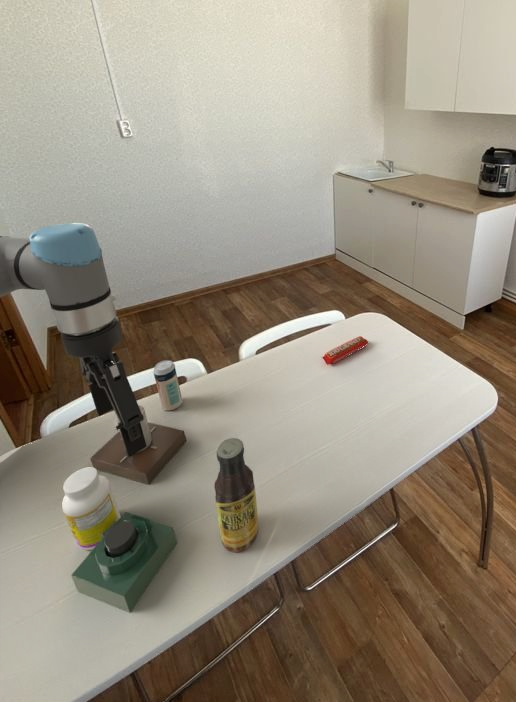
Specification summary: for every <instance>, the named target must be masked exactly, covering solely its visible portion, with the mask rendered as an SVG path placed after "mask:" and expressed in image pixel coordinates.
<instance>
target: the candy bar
mask: <svg viewBox="0 0 516 702" xmlns="http://www.w3.org/2000/svg"><path fill="white" fill-rule="evenodd" d="M368 342H369V340H368V339H366V338H364V337H363V336H361V335H360V336H357V337H355V338H352V339H350V340H348V341H346V342H344V343H342V344H340V345H339V346H336V347H335V348H333V349H331V350H329V351H327V352H326V353H325V354H324V355H323V356H321V358H322V359H323V361H324V362H325V364H326V365H327V366H329V365H330V364H331V365H334V364H336V363H338V362H340V361H342V360H343V359H342V358H344V357H346V356H347V357H349V356H350V355H349V354H351V353H353V352H355V351H357V350H358V349H360V348H362V347H363V346H365V345H366V344H367V343H368ZM367 345H368V344H367ZM367 345H366V346H367ZM366 346H365V347H366ZM362 349H363V348H362ZM360 350H361V349H360ZM357 352H358V351H357ZM355 353H356V352H355ZM353 354H354V353H353ZM348 355H349V356H348ZM351 355H352V354H351ZM347 357H346V358H347ZM341 359H342V360H341ZM344 359H345V358H344ZM339 360H340V361H339ZM337 361H338V362H337ZM335 362H336V363H335ZM333 363H334V364H333Z"/></svg>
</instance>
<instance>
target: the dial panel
mask: <svg viewBox="0 0 516 702" xmlns="http://www.w3.org/2000/svg"><path fill="white" fill-rule="evenodd" d="M148 425H149V429H150V433H151V436H152V442H151V444H150V445H149V446H148V447H147V448H146V449H144V450H143V451H141V452H138V453H135V454H134V455H132V456H130V457H129V456H128V455H127V452H126V450H125V447H124V443H123V440H122V437H121V433H120V430H118V432H117V433H116V434H115V435H114V436H113V437H111V438H110V439H109V440H108V441H107V442H106V443H105V444H104V445H102V447H100V448H99V449H98V450H97V451H96V452H95V453H94V454H93V455H91V457H90V458H89V459H90V462H91V465H92V467H94V468H95V469H96V470H97V471H99V472H103V473H107V474H110V475H113V476H116V477H120V478H123V479H126V480H130V481H133V482H137V483H141V484H145V485H147V486H150V484H152V482H154V480H155V479H156V478H157V477H158V475H159V474H160V473H161V472H162V471H163V469H164V468H166V466H167V465H168V463H170V461H171V460H172V459H173V458H174V456H175V455H176V454H177V453H178V452H179V451H180V450H181V448H182V447H183V446H184V445H185V444H186V443H187V436H186V431H185V430H183V429H179V428H174V427H170V426H167V425H163V424H157V423H153V422H150V421H148Z"/></svg>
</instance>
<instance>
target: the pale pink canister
mask: <svg viewBox="0 0 516 702" xmlns="http://www.w3.org/2000/svg"><path fill="white" fill-rule="evenodd" d="M152 374H153V376H154V380H155V384H156V388H157V393H158V397H159V400H160V405H161V409H162V410H164V411H174V410H175V409H178V408H179V407H180V406H181V405H182V403H183V401H184V400H183V397H182V392H181V387H180V383H179V378H178V374H177V370H176V364H175V363H174V362H173V361H172V360H169V359H166V360H161V361H158V362H157V363H156V364H155V365H154V368H153V370H152Z"/></svg>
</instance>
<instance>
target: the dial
mask: <svg viewBox="0 0 516 702" xmlns="http://www.w3.org/2000/svg"><path fill="white" fill-rule="evenodd" d="M138 406H139V408H140V411H141V413H142V415H143V416H144V420H143V421H141V422H140V423H141V427H142V431H143V434H144V438H145V442H146V446H147V447H148V446H149V445H150V444H151V442H152V436H151V433H150V429H149V425H148V422H149V421H148V418H147V414H146V409H145V407H144V406H142V405H139V404H138ZM116 423H117V424H118V423H120V421H119V419H118V417H117V416H116ZM118 431H120V429H119V430H118ZM120 433H121V432H120ZM121 437H122V435H121ZM122 440H123V439H122ZM123 443H124V442H123ZM124 447H125V445H124ZM147 447H145V448H143V449H142V450H140V451H139V452H141V451H143V450H144V449H146V448H147ZM125 450H126V449H125ZM137 453H138V452H137Z"/></svg>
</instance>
